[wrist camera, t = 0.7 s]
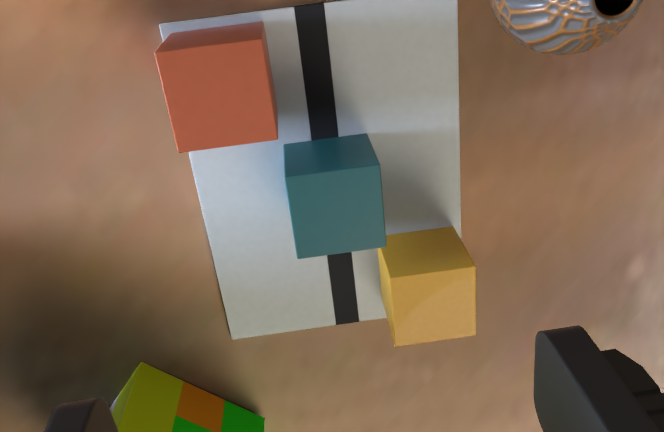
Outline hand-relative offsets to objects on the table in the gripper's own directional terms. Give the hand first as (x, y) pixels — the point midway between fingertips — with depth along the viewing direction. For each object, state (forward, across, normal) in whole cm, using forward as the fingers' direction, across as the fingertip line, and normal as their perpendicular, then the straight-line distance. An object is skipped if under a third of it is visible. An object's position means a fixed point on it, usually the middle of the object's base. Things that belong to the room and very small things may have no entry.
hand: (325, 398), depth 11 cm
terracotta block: (+25, +4, -1) cm, 26 cm away
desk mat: (+26, -1, +7) cm, 27 cm away
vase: (+26, -14, -4) cm, 30 cm away
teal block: (+25, -1, +6) cm, 26 cm away
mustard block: (+25, -6, +14) cm, 29 cm away
